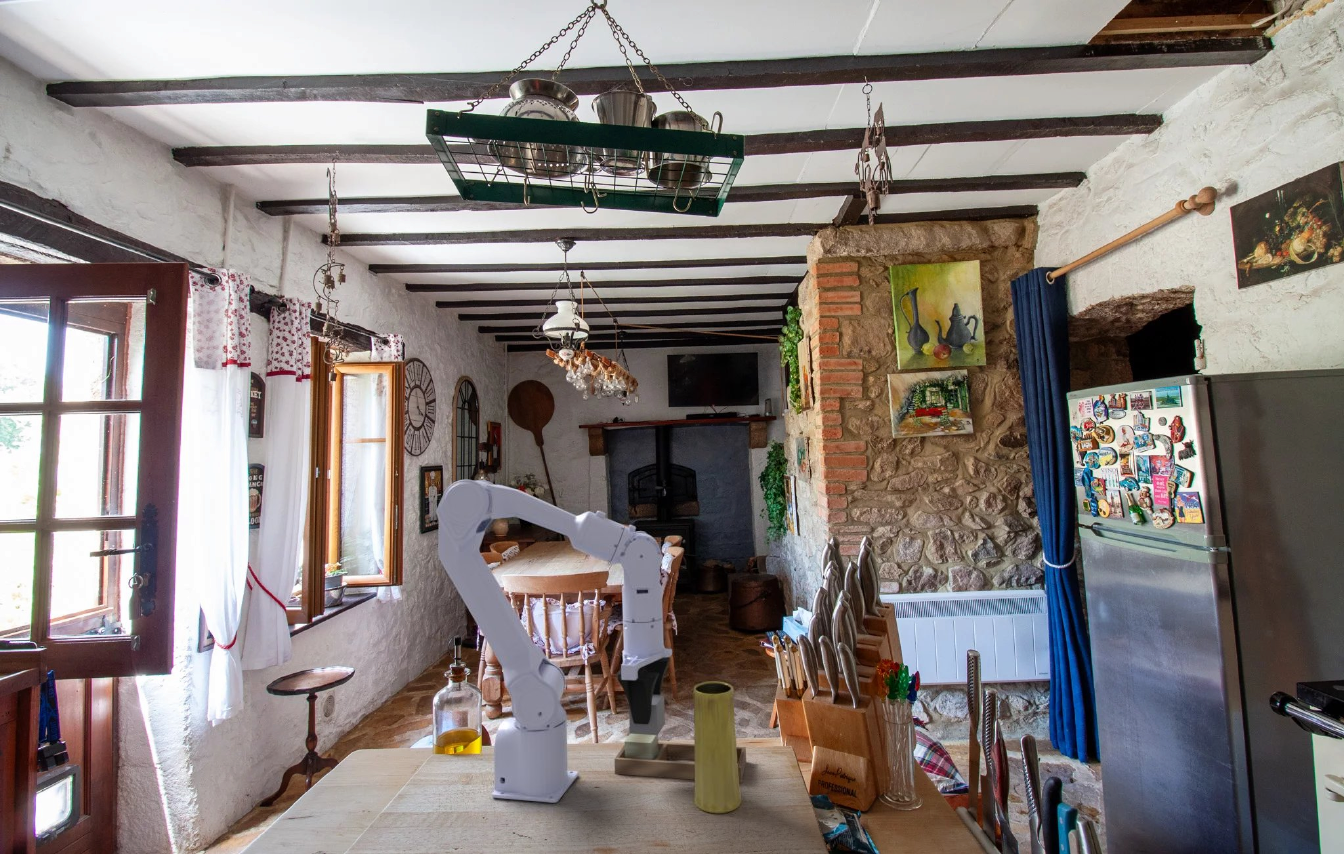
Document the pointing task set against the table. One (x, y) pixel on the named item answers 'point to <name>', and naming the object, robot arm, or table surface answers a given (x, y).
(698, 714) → the vase
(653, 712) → the grey block
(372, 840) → the table surface
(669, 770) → the walnut rack
